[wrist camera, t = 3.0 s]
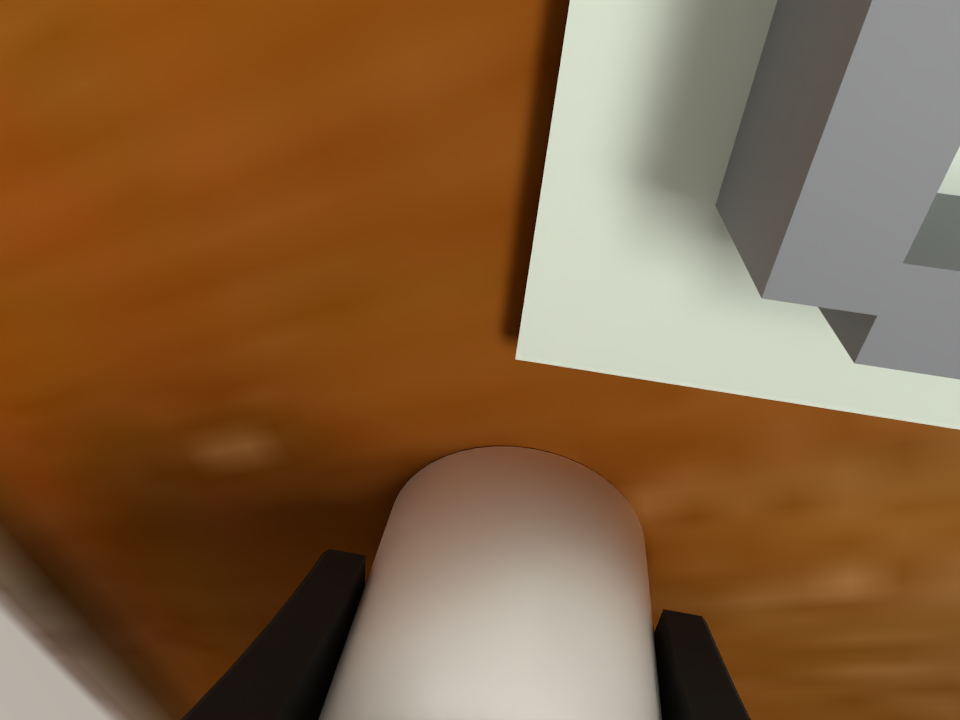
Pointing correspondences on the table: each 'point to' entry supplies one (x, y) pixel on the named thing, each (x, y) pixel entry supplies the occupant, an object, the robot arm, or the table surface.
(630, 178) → the mount board
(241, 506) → the table surface
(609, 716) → the lens cylinder
